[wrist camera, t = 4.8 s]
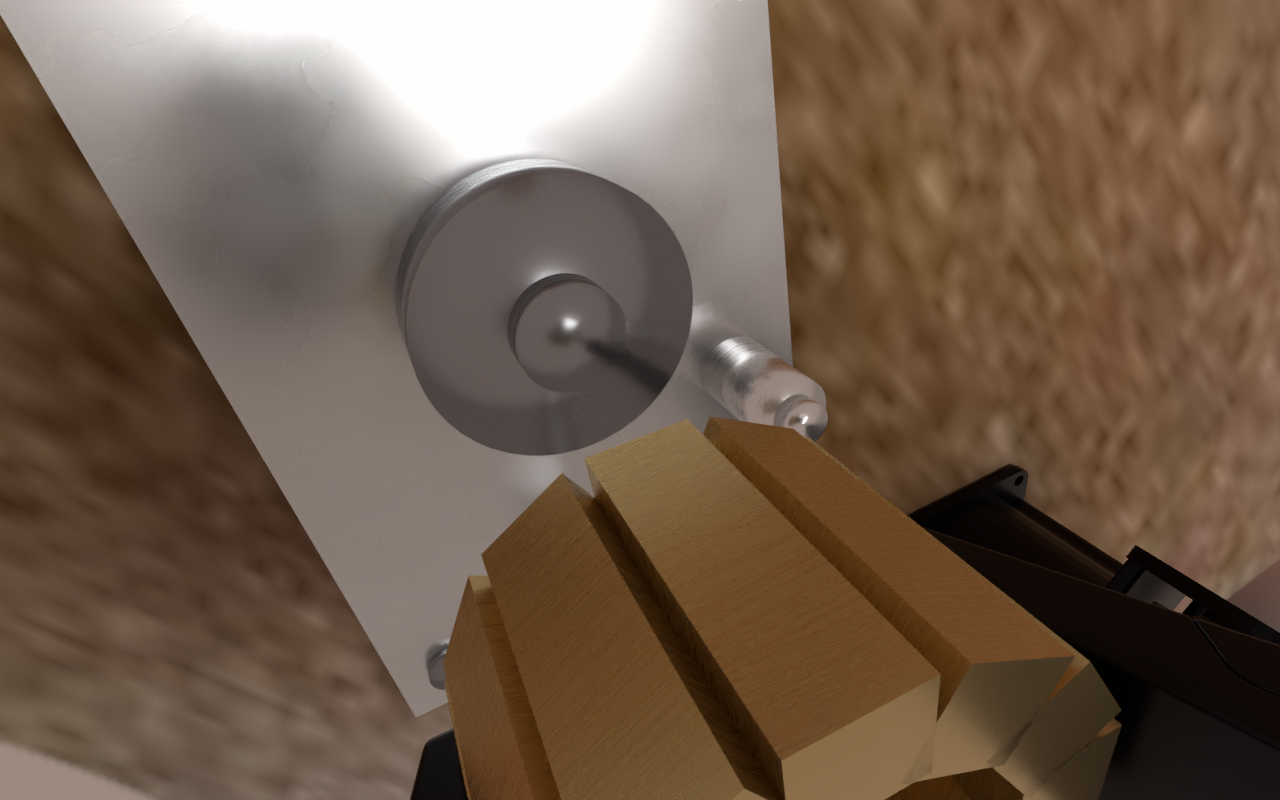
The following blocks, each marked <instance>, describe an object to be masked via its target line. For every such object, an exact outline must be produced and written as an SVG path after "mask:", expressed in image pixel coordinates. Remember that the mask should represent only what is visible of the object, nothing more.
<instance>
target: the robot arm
mask: <svg viewBox="0 0 1280 800" xmlns="http://www.w3.org/2000/svg"><path fill="white" fill-rule="evenodd" d="M1027 479H1028V473H1027V471H1025V470H1024V469H1022V468H1020V467H1019V466H1013V467H1011V468H1009V469H1007V470H1005V471H1003V472H1001V473H999V474H997V475H995V476H993V477H991V478H989V479H987V480H985V481H983V482H981V483H979V484H977V485H975V486H973V487H971V488H969V489H967V490H965V491H963V492H961V493H959V494H957V495H955V496H953V497H951V498H949V499H947V500H945V501H943V502H941V503H939V504H937V505H935V506H933V507H931V508H929V509H927V510H925V511H923V512H921V513H919V514H917V515H915V516H913V517H911V519H912V520H913V521H915V522H916V523H917V524H918V525H920V526H921V527H922V528H923V529H925V530H926V531H927V532H928V533H930V534H931V535H932V536H933V537H935V538H936V539H937V540H938V541H940V542H941V543H942V544H943V545H945V546H946V547H947V548H948V549H950V550H951V551H952V552H953V553H955V554H956V555H957V556H959V557H960V558H961V559H962V560H964V561H965V562H966V563H967V564H969V565H970V566H971V567H972V568H974V569H975V570H976V571H977V572H979V573H980V574H981V575H982V576H984V577H985V578H986V579H987V580H989V581H990V582H991V583H992V584H994V585H995V586H996V587H997V588H999V589H1000V590H1001V591H1002V592H1004V593H1005V594H1006V595H1007V596H1009V597H1010V598H1011V599H1012V600H1014V601H1015V602H1016V603H1017V604H1019V605H1020V606H1021V607H1022V608H1024V609H1025V610H1026V611H1028V612H1029V613H1030V614H1031V615H1033V616H1034V617H1035V618H1036V619H1038V620H1039V621H1040V622H1041V623H1043V624H1044V625H1045V626H1046V627H1048V628H1049V629H1050V630H1051V631H1053V632H1054V633H1055V634H1056V635H1058V636H1059V637H1060V638H1061V639H1063V640H1064V641H1065V642H1066V643H1068V644H1069V645H1070V646H1071V647H1073V648H1074V649H1075V650H1076V651H1078V652H1079V653H1080V654H1081V655H1083V656H1084V657H1085V658H1086V659H1088V660H1089V661H1090V662H1091V663H1092V665H1093V666H1094V668H1095V669H1096V671H1097V673H1098V674H1099V676H1100V677H1101V679H1102V680H1103V682H1104V683H1105V685H1106V687H1107V688H1108V690H1109V691H1110V693H1111V694H1112V696H1113V697H1114V699H1115V700H1116V702H1117V704H1118V705H1119V707H1120V708H1121V711H1120V712H1119V713H1118V714H1117V715H1116V716H1115V717H1114V719H1116V720H1117V721H1118V722H1119V723H1120V724H1121V725H1122V726H1121V729H1120V732H1119V736H1118V739H1117V742H1116V745H1115V748H1114V751H1113V754H1112V758H1111V761H1110V764H1109V767H1108V770H1107V773H1106V777H1105V780H1104V783H1103V786H1102V789H1101V792H1100V795H1099V799H1098V800H1280V633H1279V632H1277V631H1276V630H1274V629H1272V628H1271V627H1269V626H1267V625H1266V624H1264V623H1262V622H1261V621H1259V620H1257V619H1256V618H1254V617H1253V616H1251V615H1249V614H1248V613H1246V612H1244V611H1243V610H1241V609H1240V608H1238V607H1236V606H1235V605H1233V604H1231V603H1230V602H1228V601H1226V600H1225V599H1223V598H1222V597H1220V596H1218V595H1217V594H1215V593H1213V592H1212V591H1210V590H1208V589H1207V588H1205V587H1204V586H1202V585H1200V584H1199V583H1197V582H1195V581H1194V580H1192V579H1190V578H1189V577H1187V576H1185V575H1184V574H1182V573H1181V572H1179V571H1177V570H1176V569H1174V568H1172V567H1171V566H1169V565H1167V564H1166V563H1164V562H1163V561H1161V560H1159V559H1158V558H1156V557H1154V556H1153V555H1151V554H1149V553H1148V552H1146V551H1145V550H1143V549H1141V548H1140V547H1138V546H1136V545H1135V546H1134V548H1133V549H1132V550H1131V551H1130V552H1129V554H1128V555H1127V556H1126V557H1127V558H1128V560H1127V561H1126V562H1125V563H1124V565H1123V564H1122V563H1120V562H1119V561H1117V560H1115V559H1114V558H1112V557H1111V556H1109V555H1108V554H1106V553H1105V552H1103V551H1101V550H1100V549H1098V548H1097V547H1095V546H1094V545H1092V544H1091V543H1089V542H1087V541H1086V540H1084V539H1083V538H1081V537H1080V536H1078V535H1077V534H1075V533H1074V532H1072V531H1070V530H1069V529H1067V528H1066V527H1064V526H1063V525H1061V524H1060V523H1058V522H1056V521H1055V520H1053V519H1052V518H1050V517H1049V516H1047V515H1046V514H1044V513H1042V512H1041V511H1039V510H1038V509H1036V508H1035V507H1033V506H1032V505H1030V504H1028V503H1027V502H1025V501H1024V498H1025V492H1026V485H1027ZM1185 596H1188V597H1189V598H1191V599H1192V600H1193V601H1192V602H1191V603H1190V605H1189V606H1188V607H1187V608H1186V609H1185V610H1184V612H1183V613H1182V614H1181V613H1178V612H1175V611H1173V610H1174V609H1175V607H1176V606H1177V605H1178V604H1179V603H1180V601H1181V600H1182V599H1183V598H1184V597H1185ZM410 800H469V799H468V797H467V792H466V787H465V783H464V778H463V773H462V768H461V763H460V758H459V753H458V748H457V743H456V738H455V734H454V729H451V730H449V731H447V732H444V733H442V734H440V735H438V736H436V737H434V738H431V739H430V740H428V741H427V743H426V744H425V746H424V749H423V752H422V755H421V759H420V763H419V767H418V771H417V775H416V779H415V783H414V786H413V790H412V794H411V798H410Z"/></svg>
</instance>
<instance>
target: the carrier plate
mask: <svg viewBox="0 0 1280 800" xmlns="http://www.w3.org/2000/svg"><path fill="white" fill-rule="evenodd" d="M0 15H1V17H2V18H3V20H4V22H5V23H6V25H7V27H8V28H9V30H10V32H11V34H12V35H13V37H14V39H15V40H16V42H17V44H18V45H19V47H20V49H21V50H22V52H23V54H24V56H25V57H26V59H27V61H28V62H29V64H30V66H31V67H32V69H33V71H34V72H35V74H36V76H37V78H38V79H39V81H40V83H41V84H42V86H43V88H44V89H45V91H46V93H47V94H48V96H49V98H50V100H51V101H52V103H53V105H54V106H55V108H56V110H57V111H58V113H59V115H60V116H61V118H62V120H63V121H64V123H65V125H66V127H67V128H68V130H69V132H70V133H71V135H72V137H73V138H74V140H75V142H76V143H77V145H78V147H79V149H80V150H81V152H82V154H83V155H84V157H85V159H86V160H87V162H88V164H89V165H90V167H91V169H92V171H93V172H94V174H95V176H96V177H97V179H98V181H99V182H100V184H101V186H102V187H103V189H104V191H105V193H106V194H107V196H108V198H109V199H110V201H111V203H112V204H113V206H114V208H115V209H116V211H117V213H118V215H119V216H120V218H121V220H122V221H123V223H124V225H125V226H126V228H127V230H128V231H129V233H130V235H131V236H132V238H133V240H134V242H135V243H136V245H137V247H138V248H139V250H140V252H141V253H142V255H143V257H144V258H145V260H146V262H147V264H148V265H149V267H150V269H151V270H152V272H153V274H154V275H155V277H156V279H157V280H158V282H159V284H160V286H161V287H162V289H163V291H164V292H165V294H166V296H167V297H168V299H169V301H170V302H171V304H172V306H173V308H174V309H175V311H176V313H177V314H178V316H179V318H180V319H181V321H182V323H183V324H184V326H185V328H186V330H187V331H188V333H189V335H190V336H191V338H192V340H193V341H194V343H195V345H196V346H197V348H198V350H199V351H200V353H201V355H202V357H203V358H204V360H205V362H206V363H207V365H208V367H209V368H210V370H211V372H212V373H213V375H214V377H215V379H216V380H217V382H218V384H219V385H220V387H221V389H222V390H223V392H224V394H225V395H226V397H227V399H228V401H229V402H230V404H231V406H232V407H233V409H234V411H235V412H236V414H237V416H238V417H239V419H240V421H241V423H242V424H243V426H244V428H245V429H246V431H247V433H248V434H249V436H250V438H251V439H252V441H253V443H254V445H255V446H256V448H257V450H258V451H259V453H260V455H261V456H262V458H263V460H264V461H265V463H266V465H267V466H268V468H269V470H270V472H271V473H272V475H273V477H274V478H275V480H276V482H277V483H278V485H279V487H280V488H281V490H282V492H283V494H284V495H285V497H286V499H287V500H288V502H289V504H290V505H291V507H292V509H293V510H294V512H295V514H296V516H297V517H298V519H299V521H300V522H301V524H302V526H303V527H304V529H305V531H306V532H307V534H308V536H309V538H310V539H311V541H312V543H313V544H314V546H315V548H316V549H317V551H318V553H319V554H320V556H321V558H322V560H323V561H324V563H325V565H326V566H327V568H328V570H329V571H330V573H331V575H332V576H333V578H334V580H335V581H336V583H337V585H338V587H339V588H340V590H341V592H342V593H343V595H344V597H345V598H346V600H347V602H348V603H349V605H350V607H351V609H352V610H353V612H354V614H355V615H356V617H357V619H358V620H359V622H360V624H361V625H362V627H363V629H364V631H365V632H366V634H367V636H368V637H369V639H370V641H371V642H372V644H373V646H374V647H375V649H376V651H377V653H378V654H379V656H380V658H381V659H382V661H383V663H384V664H385V666H386V668H387V669H388V671H389V673H390V675H391V676H392V678H393V680H394V681H395V683H396V685H397V686H398V688H399V690H400V691H401V693H402V695H403V696H404V698H405V700H406V702H407V703H408V705H409V707H410V708H411V710H412V712H413V713H414V715H415V717H419V716H421V715H423V714H425V713H427V712H429V711H431V710H433V709H435V708H437V707H439V706H441V705H443V704H445V703H448V699H447V694H446V689H445V685H444V682H446V676H445V672H444V667H443V663H444V659H445V656H446V652H447V649H448V645H449V642H450V638H451V635H452V631H453V628H454V624H455V621H456V617H457V614H458V610H459V607H460V603H461V600H462V596H463V593H464V589H465V586H466V582H467V579H468V575H485V576H488V574H487V571H486V568H485V565H484V562H483V559H482V556H481V554H482V553H483V552H484V551H485V550H486V549H487V548H488V547H489V546H490V545H491V544H492V543H493V542H494V541H495V540H496V539H497V538H498V537H499V536H500V535H501V534H502V533H503V532H504V531H505V530H506V529H507V528H508V527H509V526H510V525H511V524H512V523H513V522H514V521H515V520H516V519H517V518H518V517H519V516H520V515H521V514H522V513H523V512H524V511H525V510H526V509H527V508H528V507H529V506H530V505H531V504H532V503H533V502H534V501H535V500H536V499H537V498H538V497H539V496H540V495H541V494H542V493H543V492H544V491H545V490H546V489H547V488H548V487H549V486H550V485H551V484H552V483H553V482H554V481H555V480H556V479H557V478H558V477H559V476H560V475H561V474H562V473H563V474H564V475H565V476H567V477H568V478H569V479H571V480H572V481H573V482H574V483H576V484H577V485H578V486H580V487H581V488H582V489H584V490H585V491H586V492H588V493H589V494H590V495H592V496H593V497H594V494H593V490H592V486H591V482H590V478H589V474H588V470H587V466H586V463H585V459H584V458H587V457H589V456H592V455H595V454H597V453H600V452H602V451H605V450H608V449H610V448H613V447H616V446H618V445H621V444H623V443H626V442H629V441H631V440H634V439H637V438H639V437H642V436H644V435H647V434H650V433H652V432H655V431H657V430H660V429H663V428H665V427H668V426H671V425H673V424H676V423H678V422H681V421H684V420H686V419H688V420H689V421H690V422H691V423H692V424H693V425H694V426H695V427H696V428H697V429H698V430H699V431H700V432H701V433H702V434H703V433H704V430H705V427H706V425H707V422H708V420H709V417H710V416H711V417H718V418H725V419H732V420H738V421H745V422H752V423H758V424H765V425H772V426H779V427H785V428H792V429H794V430H796V431H797V432H798V433H799V434H801V435H802V436H803V437H804V438H805V439H806V438H807V437H809V438H810V439H812V440H813V441H814V442H815V441H816V440H818V439H819V437H820V436H821V435H822V434H823V432H824V430H825V428H826V426H827V421H828V415H827V412H826V410H825V409H826V397H825V393H824V391H823V389H822V388H821V386H820V385H819V384H817V383H816V382H814V381H813V380H812V379H810V378H809V377H807V376H806V375H804V374H803V373H801V372H800V371H798V370H797V369H795V368H794V367H793V361H792V347H791V332H790V318H789V304H788V289H787V275H786V260H785V246H784V232H783V217H782V203H781V189H780V174H779V160H778V145H777V131H776V117H775V102H774V88H773V73H772V59H771V45H770V30H769V16H768V1H767V0H0Z"/></svg>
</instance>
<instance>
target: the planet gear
mask: <svg viewBox="0 0 1280 800" xmlns="http://www.w3.org/2000/svg"><path fill="white" fill-rule="evenodd" d="M584 459H585V463H586V466H587V470H588V474H589V478H590V482H591V486H592V490H593V494H594V497H593V496H592V495H590V494H589V493H588V492H586V491H585V490H584V489H582V488H581V487H580V486H578V485H577V484H576V483H574V482H573V481H572V480H571V479H569V478H568V477H567V476H565V475H564V474H563V473H562V474H561V475H560V476H559V477H558V478H557V479H556V480H555V481H554V482H553V483H552V484H551V485H550V486H549V487H548V488H547V489H546V490H545V491H544V492H543V493H542V494H541V495H540V496H539V497H538V498H537V499H536V500H535V501H534V502H533V503H532V504H531V505H530V506H529V507H528V508H527V509H526V510H525V511H524V512H523V513H522V514H521V515H520V516H519V517H518V518H517V519H516V520H515V521H514V522H513V523H512V524H511V525H510V526H509V527H508V528H507V529H506V530H505V531H504V532H503V533H502V534H501V535H500V536H499V537H498V538H497V539H496V540H495V541H494V542H493V543H492V544H491V545H490V546H489V547H488V548H487V549H486V550H485V551H484V552H483V553H482V554H481V556H482V559H483V562H484V565H485V568H486V571H487V574H488V576H485V575H468V579H467V582H466V586H465V589H464V593H463V596H462V600H461V603H460V607H459V610H458V614H457V617H456V621H455V624H454V628H453V631H452V635H451V638H450V642H449V645H448V649H447V652H446V656H445V659H444V663H443V667H444V672H445V676H446V682H444V685H445V689H446V694H447V699H448V704H449V709H450V714H451V719H452V724H453V729H454V734H455V738H456V743H457V748H458V753H459V758H460V763H461V768H462V773H463V778H464V783H465V787H466V792H467V797H468V799H469V800H1098V799H1099V795H1100V792H1101V789H1102V786H1103V783H1104V780H1105V777H1106V773H1107V770H1108V767H1109V764H1110V761H1111V758H1112V754H1113V751H1114V748H1115V745H1116V742H1117V739H1118V736H1119V732H1120V729H1121V726H1122V725H1121V724H1120V723H1119V722H1118V721H1117V720H1116V719H1114V717H1115V716H1116V715H1117V714H1118V713H1119V712H1120V711H1121V708H1120V707H1119V705H1118V704H1117V702H1116V700H1115V699H1114V697H1113V696H1112V694H1111V693H1110V691H1109V690H1108V688H1107V687H1106V685H1105V683H1104V682H1103V680H1102V679H1101V677H1100V676H1099V674H1098V673H1097V671H1096V669H1095V668H1094V666H1093V665H1092V663H1091V662H1090V661H1089V660H1088V659H1086V658H1085V657H1084V656H1083V655H1081V654H1080V653H1079V652H1078V651H1076V650H1075V649H1074V648H1073V647H1071V646H1070V645H1069V644H1068V643H1066V642H1065V641H1064V640H1063V639H1061V638H1060V637H1059V636H1058V635H1056V634H1055V633H1054V632H1053V631H1051V630H1050V629H1049V628H1048V627H1046V626H1045V625H1044V624H1043V623H1041V622H1040V621H1039V620H1038V619H1036V618H1035V617H1034V616H1033V615H1031V614H1030V613H1029V612H1028V611H1026V610H1025V609H1024V608H1022V607H1021V606H1020V605H1019V604H1017V603H1016V602H1015V601H1014V600H1012V599H1011V598H1010V597H1009V596H1007V595H1006V594H1005V593H1004V592H1002V591H1001V590H1000V589H999V588H997V587H996V586H995V585H994V584H992V583H991V582H990V581H989V580H987V579H986V578H985V577H984V576H982V575H981V574H980V573H979V572H977V571H976V570H975V569H974V568H972V567H971V566H970V565H969V564H967V563H966V562H965V561H964V560H962V559H961V558H960V557H959V556H957V555H956V554H955V553H953V552H952V551H951V550H950V549H948V548H947V547H946V546H945V545H943V544H942V543H941V542H940V541H938V540H937V539H936V538H935V537H933V536H932V535H931V534H930V533H928V532H927V531H926V530H925V529H923V528H922V527H921V526H920V525H918V524H917V523H916V522H915V521H913V520H912V519H911V518H910V517H908V516H907V515H906V514H905V513H903V512H902V511H901V510H900V509H898V508H897V507H896V506H895V505H893V504H892V503H891V502H890V501H888V500H887V499H886V498H884V497H883V496H882V495H881V494H879V493H878V492H877V491H876V490H874V489H873V488H872V487H871V486H869V485H868V484H867V483H866V482H864V481H863V480H862V479H861V478H859V477H858V476H857V475H856V474H854V473H853V472H852V471H851V470H849V469H848V468H847V467H846V466H844V465H843V464H842V463H841V462H839V461H838V460H837V459H836V458H834V457H833V456H832V455H831V454H829V453H828V452H827V451H826V450H824V449H823V448H822V447H821V446H819V445H818V444H817V443H815V442H814V441H813V440H812V439H810V438H809V437H807V438H806V439H805V438H804V437H803V436H802V435H801V434H799V433H798V432H797V431H796V430H794V429H792V428H785V427H779V426H772V425H765V424H758V423H752V422H745V421H738V420H732V419H725V418H718V417H711V416H710V417H709V420H708V422H707V425H706V427H705V430H704V433H703V434H702V433H701V432H700V431H699V430H698V429H697V428H696V427H695V426H694V425H693V424H692V423H691V422H690V421H689V420H688V419H686V420H684V421H681V422H678V423H676V424H673V425H671V426H668V427H665V428H663V429H660V430H657V431H655V432H652V433H650V434H647V435H644V436H642V437H639V438H637V439H634V440H631V441H629V442H626V443H623V444H621V445H618V446H616V447H613V448H610V449H608V450H605V451H602V452H600V453H597V454H595V455H592V456H589V457H587V458H584Z"/></svg>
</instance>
